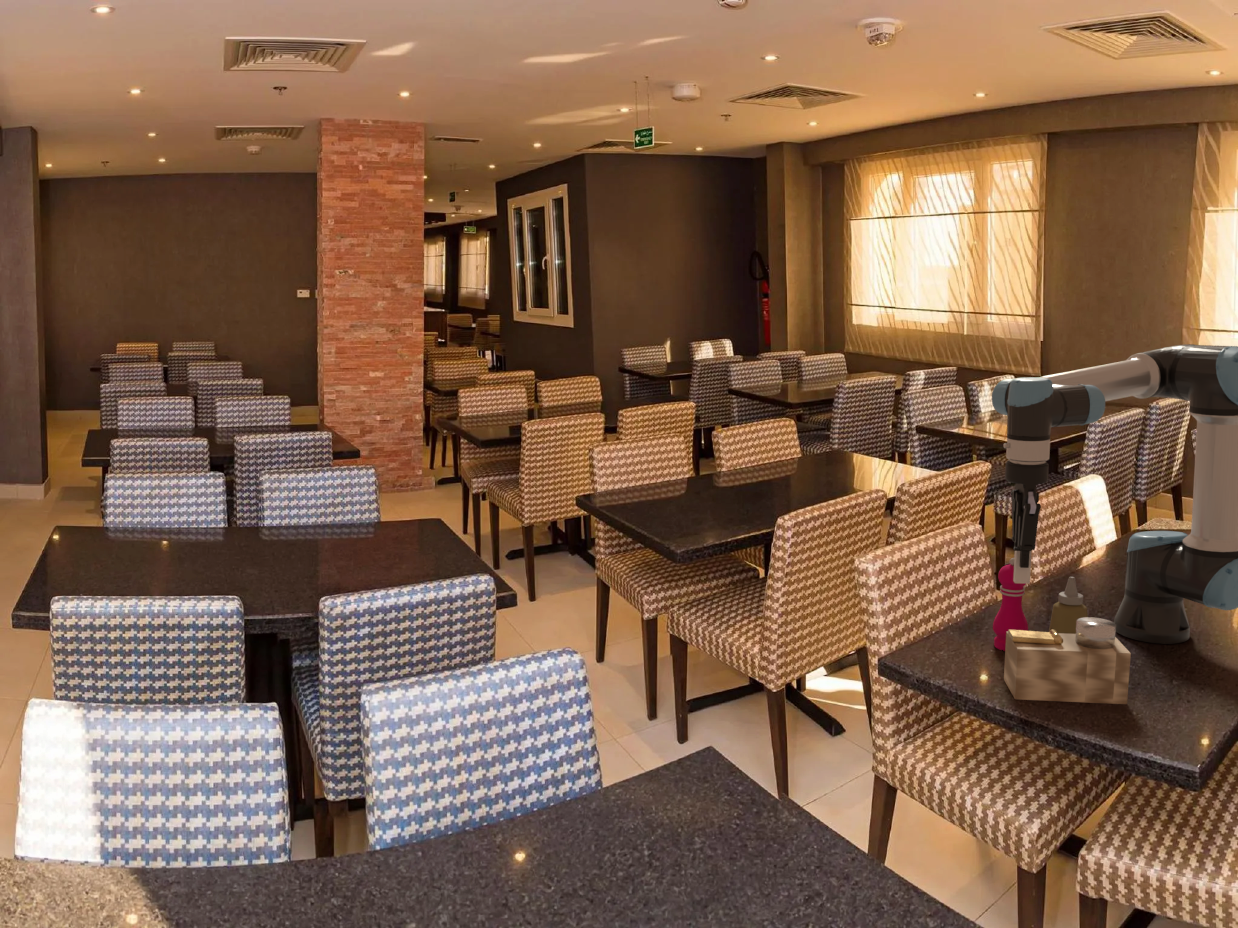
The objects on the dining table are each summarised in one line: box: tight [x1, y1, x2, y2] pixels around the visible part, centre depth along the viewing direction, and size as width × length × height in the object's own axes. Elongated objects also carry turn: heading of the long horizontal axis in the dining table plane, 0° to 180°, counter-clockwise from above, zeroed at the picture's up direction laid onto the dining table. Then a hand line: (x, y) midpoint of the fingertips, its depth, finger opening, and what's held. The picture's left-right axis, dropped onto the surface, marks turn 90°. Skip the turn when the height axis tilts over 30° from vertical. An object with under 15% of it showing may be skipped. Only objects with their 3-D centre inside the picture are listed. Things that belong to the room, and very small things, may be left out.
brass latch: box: [1008, 629, 1063, 645], centre depth 196 cm, size 9×4×2 cm, turn 81°
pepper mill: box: [992, 557, 1029, 652], centre depth 220 cm, size 7×7×20 cm
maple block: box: [1003, 631, 1132, 705], centre depth 196 cm, size 20×10×10 cm, turn 81°
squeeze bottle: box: [1048, 576, 1089, 634], centre depth 211 cm, size 8×8×18 cm
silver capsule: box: [1075, 616, 1116, 649], centre depth 195 cm, size 7×7×12 cm
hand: (1021, 582), depth 195 cm, fingers closed
